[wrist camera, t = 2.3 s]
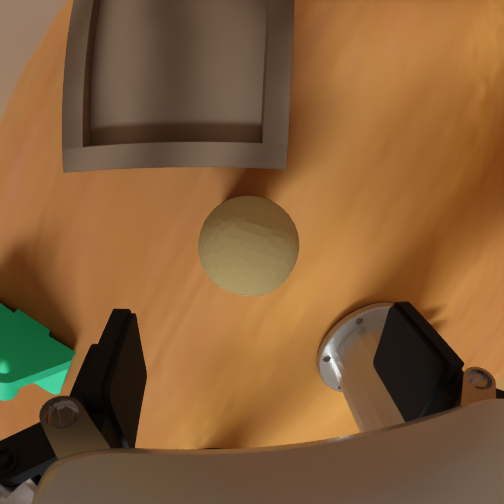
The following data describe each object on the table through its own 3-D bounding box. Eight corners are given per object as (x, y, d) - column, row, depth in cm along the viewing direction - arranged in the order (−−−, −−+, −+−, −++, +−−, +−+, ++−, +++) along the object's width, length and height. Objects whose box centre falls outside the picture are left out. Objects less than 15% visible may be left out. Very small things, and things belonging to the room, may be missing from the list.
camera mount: (-11, 334, 29) (-49, 385, 20) (-5, 291, 27) (-54, 342, 18) (64, 382, 33) (38, 444, 23) (78, 345, 31) (46, 412, 21)
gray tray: (275, 1, 20) (294, -35, 14) (268, 158, 26) (286, 169, 19) (109, 5, 19) (79, -25, 12) (100, 159, 24) (63, 172, 17)
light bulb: (217, 168, 25) (217, 192, 16) (290, 194, 27) (327, 231, 18) (193, 239, 27) (182, 297, 18) (262, 260, 29) (283, 324, 20)
